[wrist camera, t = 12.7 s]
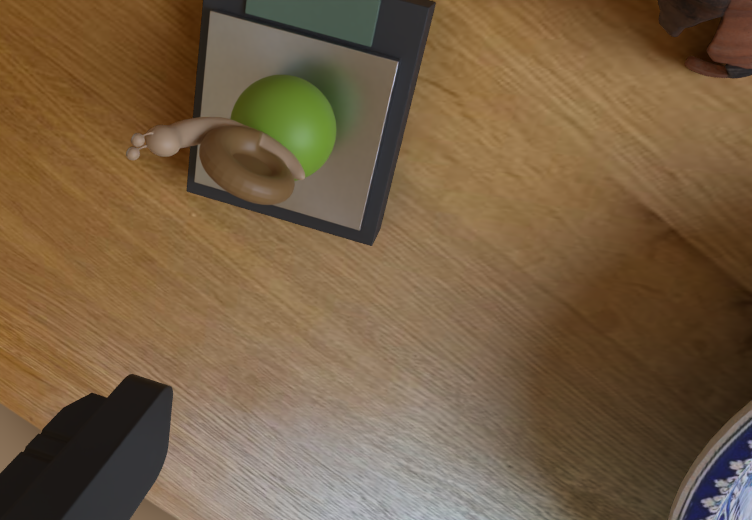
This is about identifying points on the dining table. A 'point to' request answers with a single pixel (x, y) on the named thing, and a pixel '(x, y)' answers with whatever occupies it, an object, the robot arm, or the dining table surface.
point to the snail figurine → (256, 139)
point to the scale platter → (333, 78)
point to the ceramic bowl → (720, 476)
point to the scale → (353, 27)
